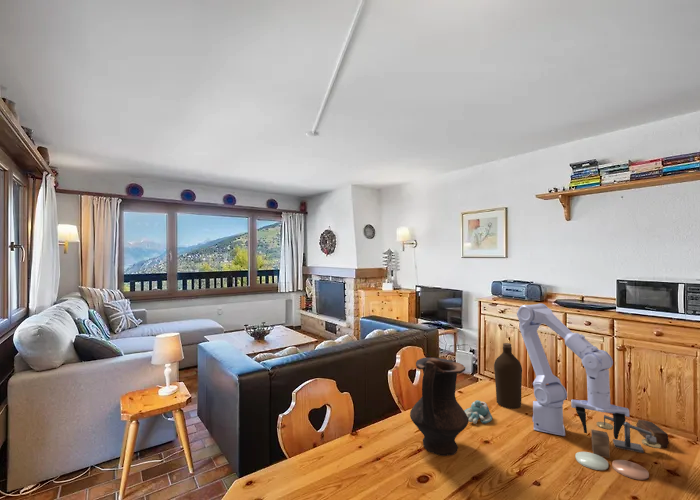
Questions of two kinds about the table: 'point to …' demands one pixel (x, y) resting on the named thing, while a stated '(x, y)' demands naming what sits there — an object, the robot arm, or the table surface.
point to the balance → (626, 444)
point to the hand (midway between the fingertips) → (600, 434)
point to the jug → (439, 406)
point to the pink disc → (630, 469)
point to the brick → (653, 432)
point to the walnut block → (600, 443)
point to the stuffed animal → (478, 412)
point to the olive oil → (508, 378)
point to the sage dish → (591, 461)
